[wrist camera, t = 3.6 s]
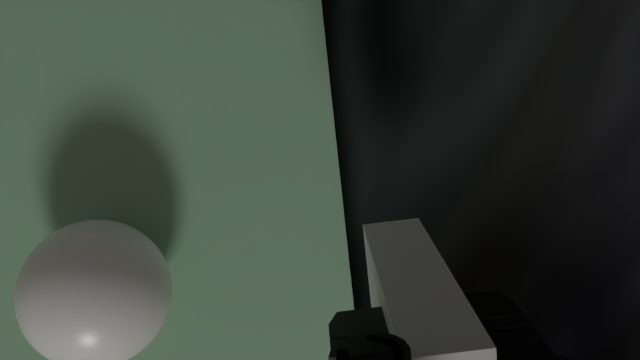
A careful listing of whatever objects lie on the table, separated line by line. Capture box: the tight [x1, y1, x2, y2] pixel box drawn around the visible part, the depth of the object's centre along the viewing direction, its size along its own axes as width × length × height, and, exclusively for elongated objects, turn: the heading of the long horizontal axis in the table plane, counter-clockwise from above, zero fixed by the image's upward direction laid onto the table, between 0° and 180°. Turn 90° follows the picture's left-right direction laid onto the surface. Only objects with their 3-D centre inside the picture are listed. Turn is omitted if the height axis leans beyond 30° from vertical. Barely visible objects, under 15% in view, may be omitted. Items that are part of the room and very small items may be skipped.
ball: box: [14, 220, 172, 360], centre depth 16 cm, size 4×4×4 cm
